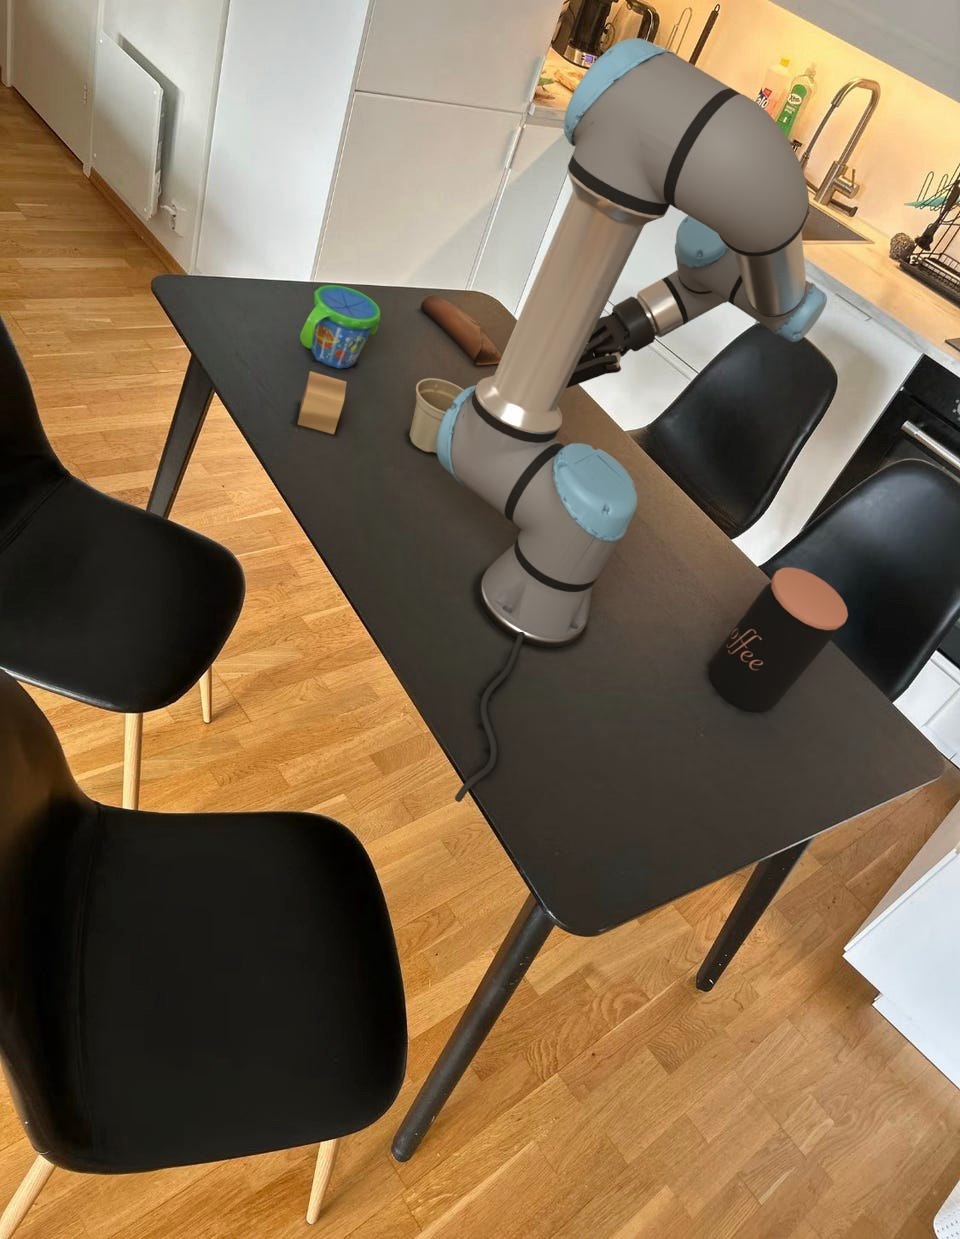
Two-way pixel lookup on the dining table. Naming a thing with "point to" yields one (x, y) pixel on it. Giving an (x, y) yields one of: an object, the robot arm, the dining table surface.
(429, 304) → the sunglasses case
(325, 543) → the dining table surface
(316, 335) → the snack cup
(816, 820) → the dining table surface
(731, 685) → the coffee jar
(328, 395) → the maple block
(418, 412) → the flower pot
